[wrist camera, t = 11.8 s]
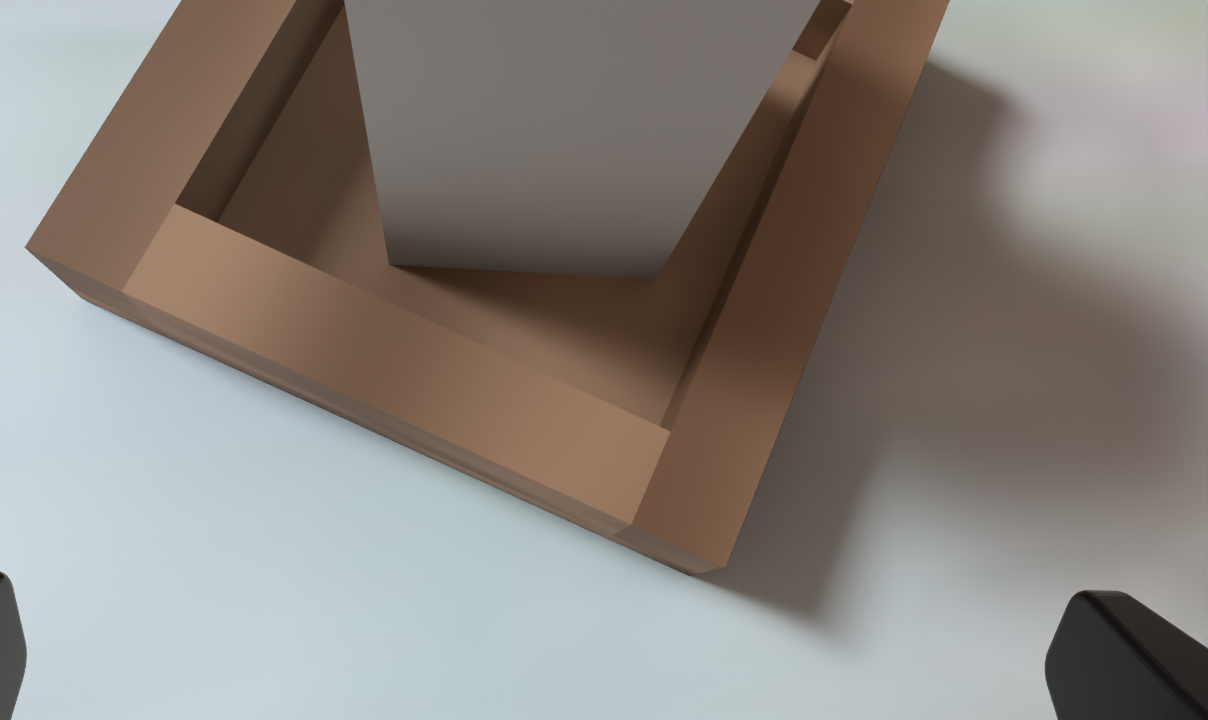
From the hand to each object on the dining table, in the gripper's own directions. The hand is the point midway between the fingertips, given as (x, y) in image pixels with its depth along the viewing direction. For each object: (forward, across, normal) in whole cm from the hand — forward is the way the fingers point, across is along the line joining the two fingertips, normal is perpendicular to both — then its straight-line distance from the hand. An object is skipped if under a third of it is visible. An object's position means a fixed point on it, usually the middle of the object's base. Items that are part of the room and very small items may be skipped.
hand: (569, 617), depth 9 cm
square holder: (+12, 0, 0) cm, 12 cm away
